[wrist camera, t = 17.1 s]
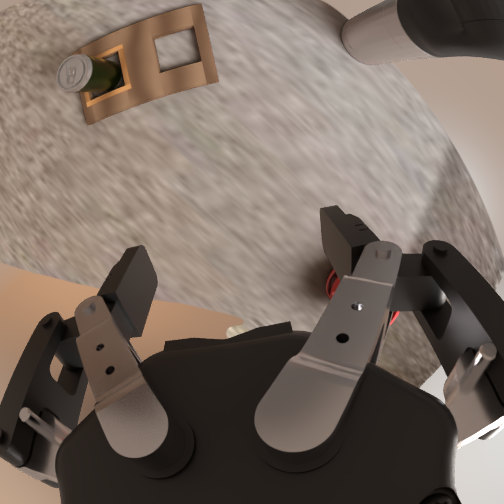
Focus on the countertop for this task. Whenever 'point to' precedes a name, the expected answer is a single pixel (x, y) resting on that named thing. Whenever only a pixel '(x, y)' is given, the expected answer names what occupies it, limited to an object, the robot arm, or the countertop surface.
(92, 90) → the beer can
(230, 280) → the countertop surface
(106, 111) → the socket board
